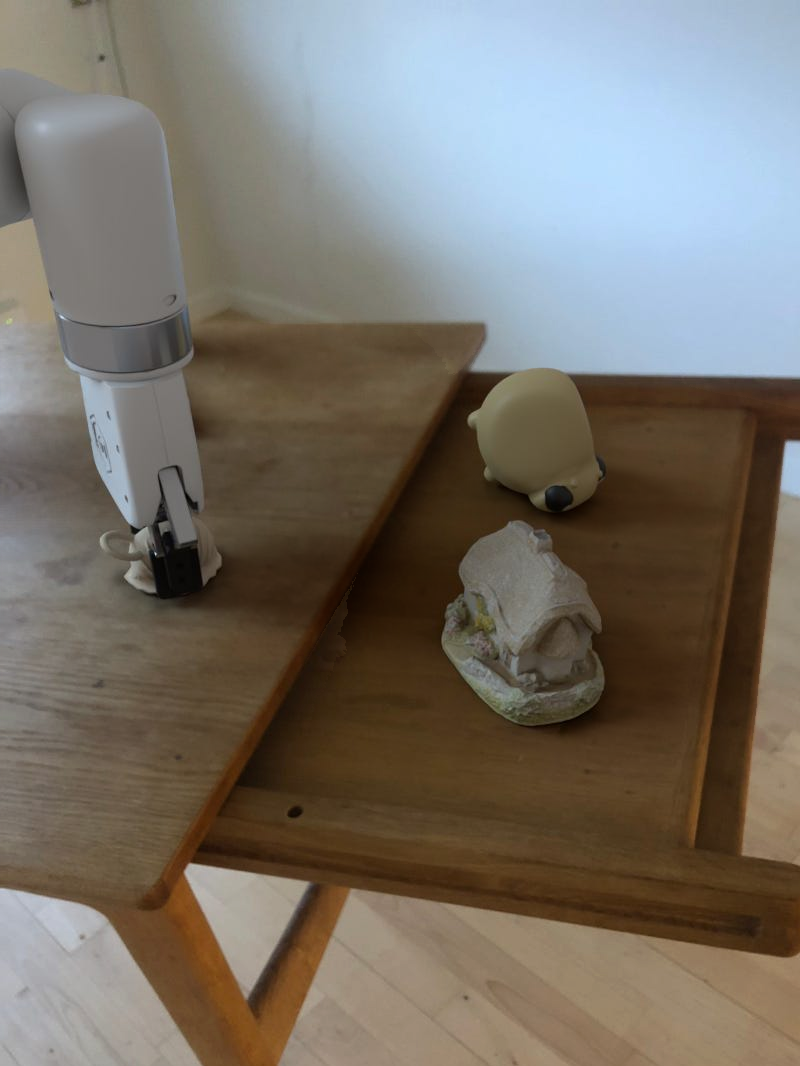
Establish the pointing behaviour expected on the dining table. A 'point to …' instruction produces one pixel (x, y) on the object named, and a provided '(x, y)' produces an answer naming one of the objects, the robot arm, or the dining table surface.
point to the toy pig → (539, 439)
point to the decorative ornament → (141, 544)
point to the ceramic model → (524, 629)
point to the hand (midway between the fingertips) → (169, 572)
